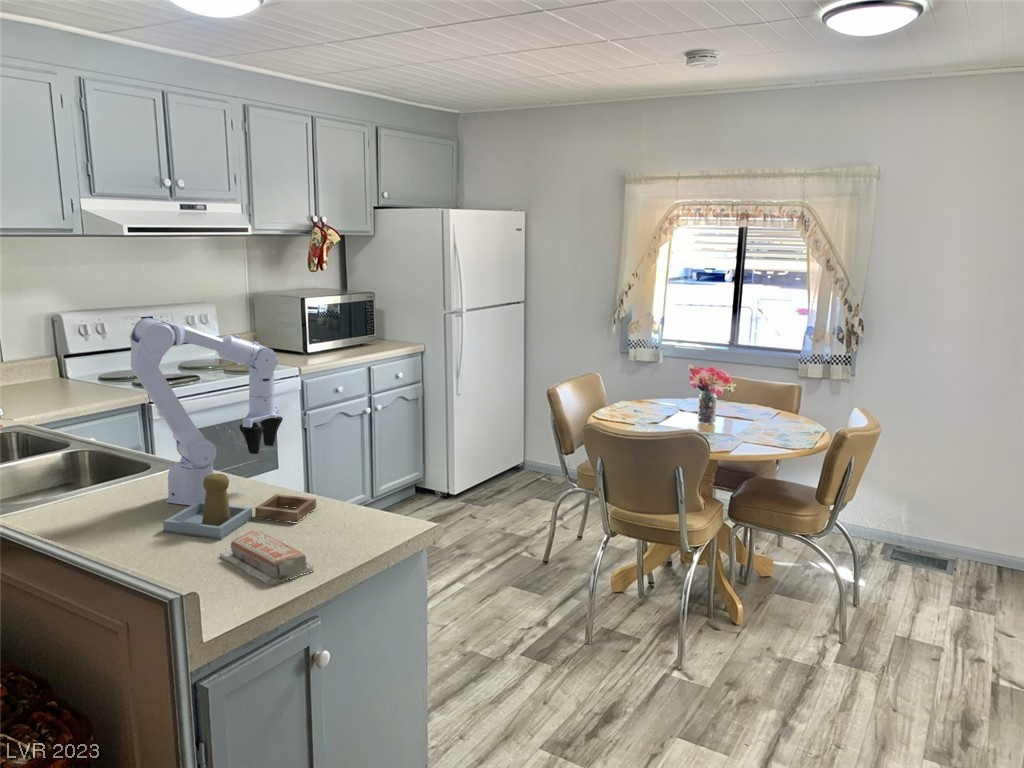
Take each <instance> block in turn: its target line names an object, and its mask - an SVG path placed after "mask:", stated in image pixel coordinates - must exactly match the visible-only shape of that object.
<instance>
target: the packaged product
mask: <svg viewBox="0 0 1024 768" xmlns="http://www.w3.org/2000/svg"><path fill="white" fill-rule="evenodd" d="M219 557H220V558H221V559H223V560H225V561H227V562H229V563H231V564H232V565H234V566H236V567H237V568H239V569H240V570H241V571H244V572H245V573H246V574H248V575H250V576H253V577H254V578H256V579H258V580H259V579H260V580H259V581H262V583H264V584H266V585H268V586H269V587H271V586H275V585H274V584H276V585H278V584H277V583H279V584H281V583H280V582H282V583H284V582H283V581H285V580H287V579H290V578H293V577H295V576H298V575H300V574H304V573H307V572H310V571H313V570H314V571H315V569H314V568H315V565H314V564H311V563H310V562H309V561H307V557H306V554H305V553H303V552H301V551H300V550H298V549H296V548H294V547H292V546H289V545H287V544H286V543H284V542H282V541H280V540H279V539H276V538H275V537H272V536H270V535H269V534H266V533H264V532H262V531H260V530H251V531H248V532H246V533H245V534H243V535H241V536H240V537H237V538H235V539H234V540H232V541H231V543H230V550H225V551H224V552H222V553H221V552H220V553H219ZM285 582H286V581H285Z"/></svg>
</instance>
